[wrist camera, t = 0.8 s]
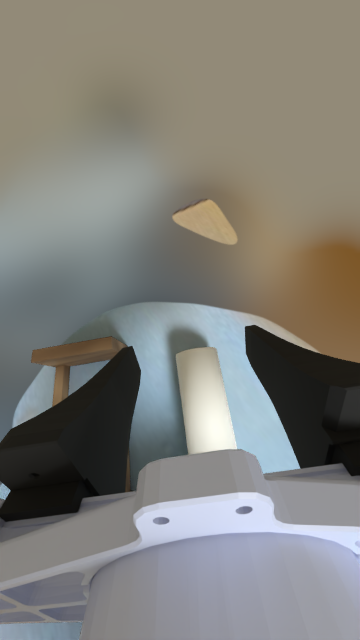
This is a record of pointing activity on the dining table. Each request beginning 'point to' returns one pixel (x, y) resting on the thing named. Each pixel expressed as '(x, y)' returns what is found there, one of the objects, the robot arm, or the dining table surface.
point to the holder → (74, 356)
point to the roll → (204, 401)
